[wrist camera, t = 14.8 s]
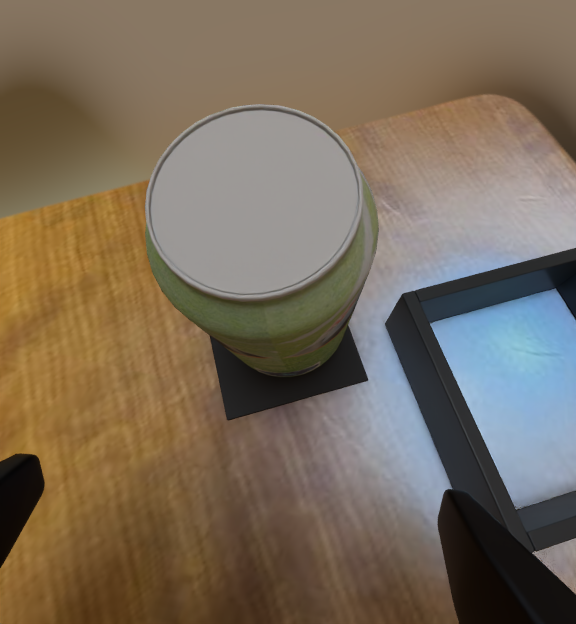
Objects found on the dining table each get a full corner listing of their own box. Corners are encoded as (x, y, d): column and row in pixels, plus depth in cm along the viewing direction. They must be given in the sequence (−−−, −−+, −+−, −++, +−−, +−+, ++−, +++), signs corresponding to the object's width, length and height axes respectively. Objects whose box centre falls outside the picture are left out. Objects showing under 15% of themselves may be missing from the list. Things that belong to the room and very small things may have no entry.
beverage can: (345, 277, 21) (402, 51, 10) (340, 415, 18) (412, 312, 7) (231, 268, 21) (163, 40, 10) (208, 402, 18) (74, 284, 7)
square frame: (687, 470, 17) (779, 468, 14) (474, 542, 16) (519, 557, 13) (559, 275, 21) (608, 238, 18) (384, 323, 20) (401, 293, 17)
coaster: (367, 380, 19) (368, 379, 18) (227, 420, 18) (227, 419, 18) (324, 262, 21) (324, 260, 21) (201, 293, 21) (200, 291, 21)
